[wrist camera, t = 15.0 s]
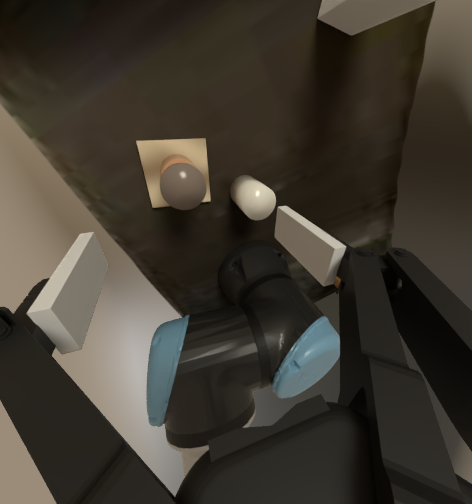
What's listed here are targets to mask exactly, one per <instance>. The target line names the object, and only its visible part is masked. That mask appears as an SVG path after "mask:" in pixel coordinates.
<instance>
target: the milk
mask: <svg viewBox="0 0 472 504" xmlns="http://www.w3.org/2000/svg"><path fill="white" fill-rule="evenodd" d="M433 1H436V0H322V2H321V6H320V10H319V14H318V19H319V20H321V21H323V22H325V23H327V24H329V25H331V26H333V27H335V28H337V29H339V30H341V31H343V32H345V33H347V34H349V35H351V36H352V35H354V34H357V33H359V32H362V31H364V30H366V29H369V28H371V27H374V26H376V25H378V24H381V23H383V22H386V21H388V20H390V19H393V18H395V17H398V16H400V15H402V14H405V13H407V12H410V11H412V10H414V9H417V8H419V7H421V6H424V5H426V4H429V3H431V2H433Z"/></svg>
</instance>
